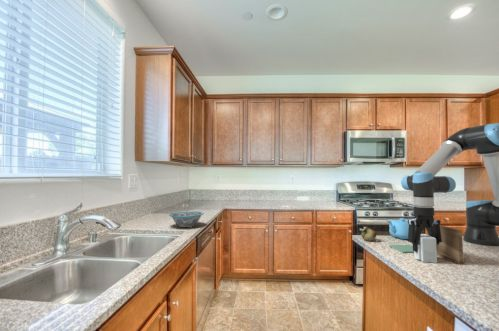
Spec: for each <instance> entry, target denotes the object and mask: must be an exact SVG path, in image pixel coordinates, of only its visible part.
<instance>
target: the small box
mask: <svg viewBox="0 0 499 331" xmlns="http://www.w3.org/2000/svg"><path fill="white" fill-rule="evenodd" d="M418 244H419V245H420V256H421V260H420V261H421V262H422V263H432V264H433V263H435V264H437V263H438V256H437V247H436V238H434V237H432V236H429V235H428V233H427V234H426V233H421V236H420V239H419V243H418Z"/></svg>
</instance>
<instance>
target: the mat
mask: <svg viewBox="0 0 499 331" xmlns="http://www.w3.org/2000/svg"><path fill="white" fill-rule="evenodd" d="M388 247H389V248H391V249H394V250H396V251H398V252H400V253H403V254H414V251H413V245H412V244H388Z"/></svg>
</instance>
